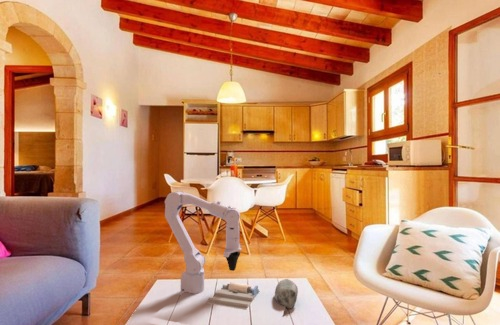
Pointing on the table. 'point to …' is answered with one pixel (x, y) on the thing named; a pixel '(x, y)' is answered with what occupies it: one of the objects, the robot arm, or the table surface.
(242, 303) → the beige mounting plate
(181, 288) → the robot arm
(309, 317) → the table surface
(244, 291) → the cream cylinder
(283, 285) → the mottled grey stone
